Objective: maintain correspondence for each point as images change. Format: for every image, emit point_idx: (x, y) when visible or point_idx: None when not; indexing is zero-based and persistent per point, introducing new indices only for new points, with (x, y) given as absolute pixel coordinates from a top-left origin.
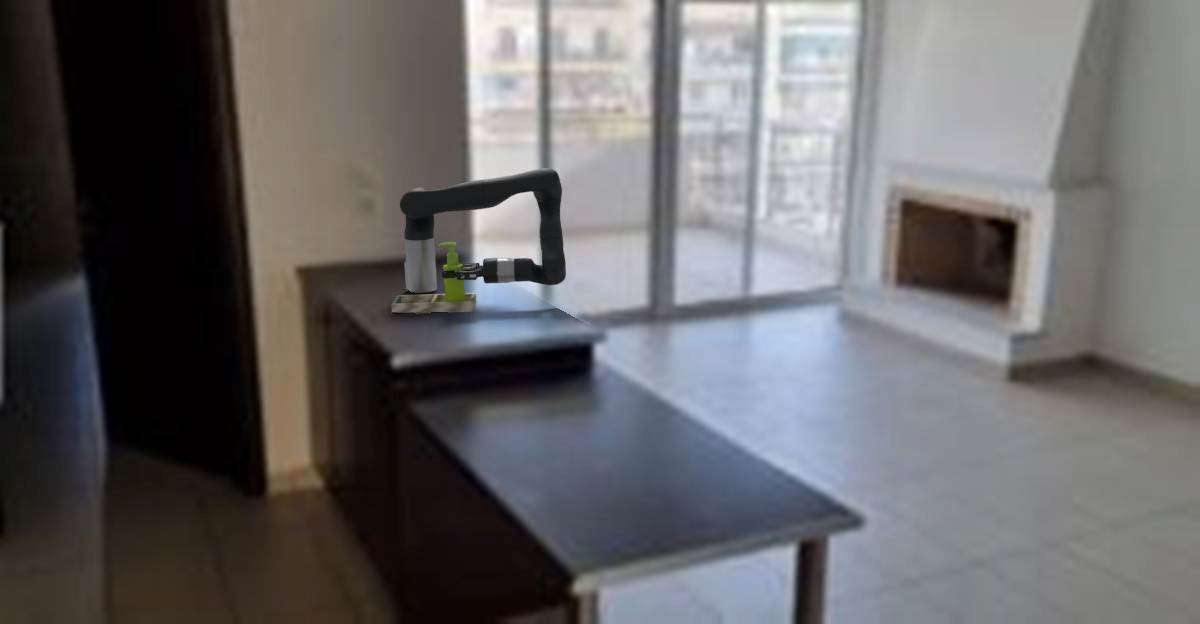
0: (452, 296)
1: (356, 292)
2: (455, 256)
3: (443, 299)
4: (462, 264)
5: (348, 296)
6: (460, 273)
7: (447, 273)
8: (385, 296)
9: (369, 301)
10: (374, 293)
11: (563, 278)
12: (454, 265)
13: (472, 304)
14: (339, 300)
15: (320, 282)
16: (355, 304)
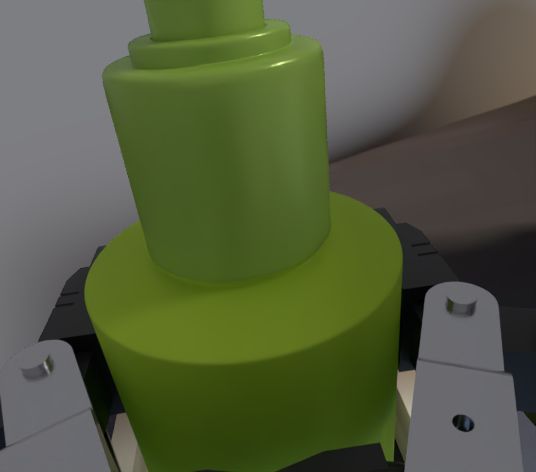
0: None
1: (498, 143)
2: (126, 123)
3: (399, 426)
4: (296, 342)
5: (437, 145)
6: (156, 441)
7: (61, 304)
8: (479, 198)
9: (384, 189)
10: (510, 169)
11: None
12: (137, 267)
13: None
14: (380, 147)
15: None
16: (334, 178)
